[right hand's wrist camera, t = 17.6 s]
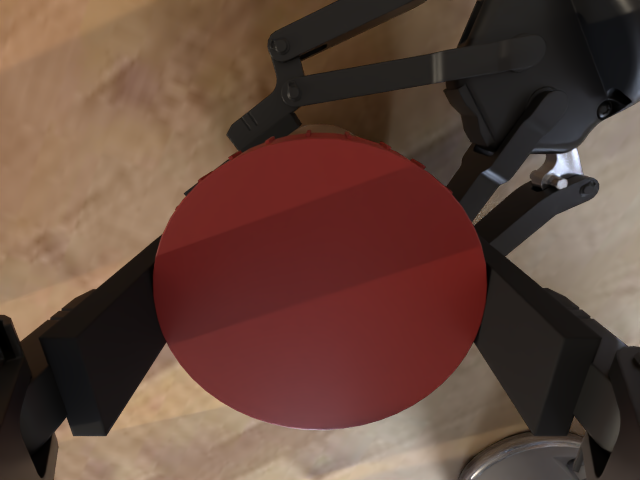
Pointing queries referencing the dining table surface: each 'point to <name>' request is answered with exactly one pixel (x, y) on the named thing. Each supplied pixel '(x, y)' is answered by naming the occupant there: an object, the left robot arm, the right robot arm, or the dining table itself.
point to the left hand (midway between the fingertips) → (254, 259)
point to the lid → (319, 282)
